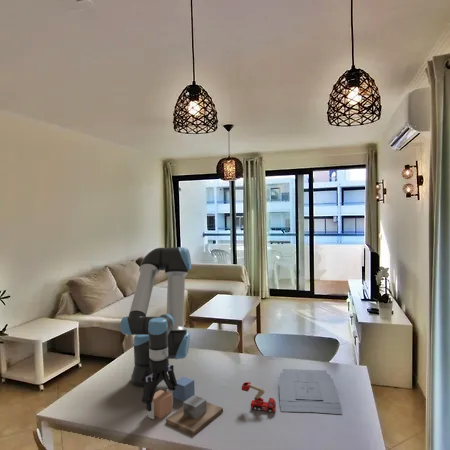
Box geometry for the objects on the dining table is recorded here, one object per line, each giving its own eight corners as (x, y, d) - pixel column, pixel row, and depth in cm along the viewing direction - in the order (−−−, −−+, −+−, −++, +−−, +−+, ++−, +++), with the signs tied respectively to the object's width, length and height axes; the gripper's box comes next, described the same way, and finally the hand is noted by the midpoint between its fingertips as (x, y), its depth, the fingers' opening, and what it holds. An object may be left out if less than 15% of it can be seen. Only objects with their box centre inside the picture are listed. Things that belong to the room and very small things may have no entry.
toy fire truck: (275, 413, 139) (274, 389, 138) (241, 408, 143) (241, 384, 143) (276, 408, 142) (276, 385, 141) (244, 403, 146) (243, 381, 146)
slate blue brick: (173, 397, 152) (173, 382, 152) (183, 391, 158) (183, 376, 157) (184, 402, 149) (184, 386, 148) (194, 395, 154) (194, 380, 154)
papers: (330, 375, 166) (330, 368, 166) (343, 420, 137) (343, 412, 136) (278, 373, 169) (278, 367, 169) (280, 417, 140) (280, 409, 140)
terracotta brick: (149, 413, 141) (148, 396, 141) (161, 406, 146) (160, 389, 146) (160, 418, 137) (160, 401, 137) (172, 410, 143) (171, 394, 142)
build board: (166, 422, 134) (165, 406, 134) (196, 401, 149) (196, 386, 149) (193, 435, 126) (193, 418, 126) (223, 411, 141) (222, 395, 141)
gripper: (143, 370, 130) (146, 429, 130) (184, 349, 148) (186, 401, 149) (130, 365, 134) (132, 422, 135) (171, 346, 152) (173, 396, 153)
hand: (160, 411), depth 142 cm, fingers open, 10 cm apart
